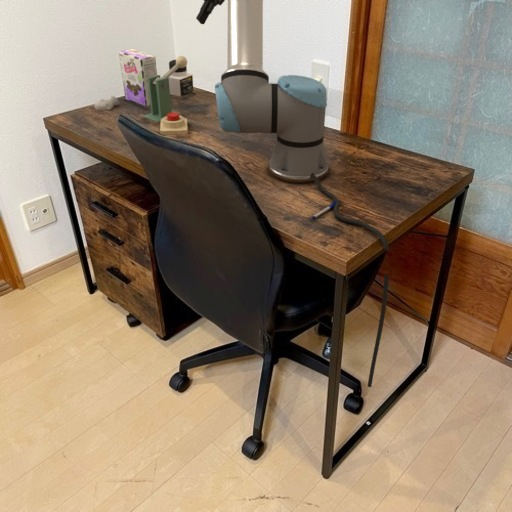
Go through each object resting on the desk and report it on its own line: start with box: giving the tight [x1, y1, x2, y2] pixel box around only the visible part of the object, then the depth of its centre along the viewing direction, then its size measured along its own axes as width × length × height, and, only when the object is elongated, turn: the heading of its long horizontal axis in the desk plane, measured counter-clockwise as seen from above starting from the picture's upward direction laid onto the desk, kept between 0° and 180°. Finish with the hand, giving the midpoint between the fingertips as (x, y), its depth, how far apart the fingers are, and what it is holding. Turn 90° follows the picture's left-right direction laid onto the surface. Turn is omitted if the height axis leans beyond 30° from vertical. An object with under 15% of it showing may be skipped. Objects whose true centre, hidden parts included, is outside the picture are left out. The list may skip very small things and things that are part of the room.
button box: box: [159, 115, 189, 136], centre depth 159 cm, size 10×8×4 cm
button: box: [167, 112, 180, 121], centre depth 158 cm, size 4×4×2 cm
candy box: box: [118, 48, 158, 107], centre depth 178 cm, size 14×6×16 cm, turn 42°
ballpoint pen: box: [311, 200, 341, 220], centre depth 119 cm, size 10×1×1 cm, turn 140°
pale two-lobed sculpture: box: [93, 95, 119, 112], centre depth 175 cm, size 4×8×5 cm
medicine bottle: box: [168, 59, 194, 98], centre depth 187 cm, size 7×7×12 cm
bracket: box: [141, 74, 182, 123], centre depth 166 cm, size 10×8×13 cm
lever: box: [152, 55, 188, 89], centre depth 166 cm, size 14×4×4 cm, turn 138°
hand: (200, 21), depth 167 cm, fingers closed
